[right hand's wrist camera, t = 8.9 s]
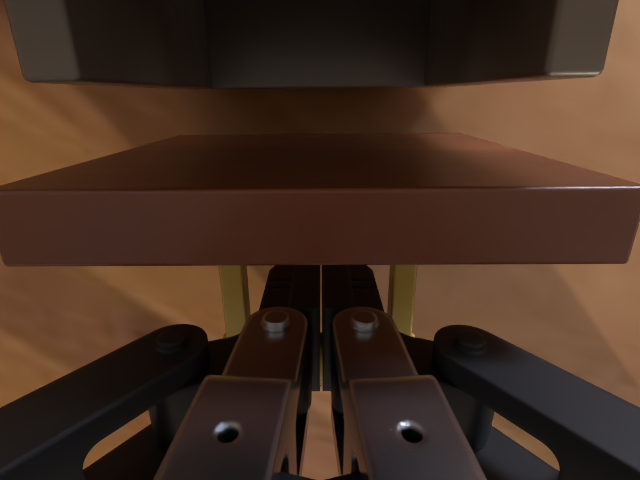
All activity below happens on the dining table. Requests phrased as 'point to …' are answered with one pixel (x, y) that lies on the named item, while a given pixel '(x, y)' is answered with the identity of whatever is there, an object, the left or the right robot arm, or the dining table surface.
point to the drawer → (314, 143)
